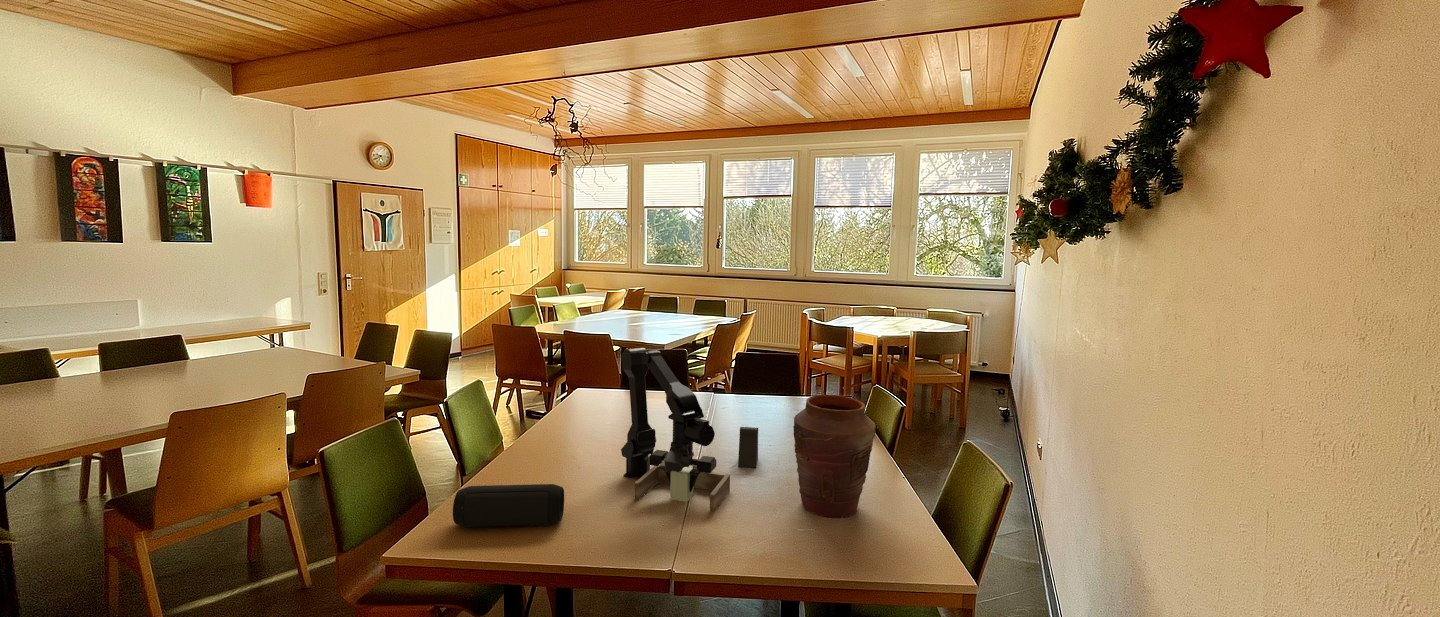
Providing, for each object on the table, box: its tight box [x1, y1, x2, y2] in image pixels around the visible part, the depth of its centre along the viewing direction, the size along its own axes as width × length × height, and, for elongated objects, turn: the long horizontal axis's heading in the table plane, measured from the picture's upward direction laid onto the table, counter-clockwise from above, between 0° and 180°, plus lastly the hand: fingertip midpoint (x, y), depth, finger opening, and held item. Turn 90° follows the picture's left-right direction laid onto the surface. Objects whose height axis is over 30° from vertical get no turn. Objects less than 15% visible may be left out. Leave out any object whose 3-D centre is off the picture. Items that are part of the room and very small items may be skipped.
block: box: [669, 466, 694, 503], centre depth 169 cm, size 5×5×8 cm
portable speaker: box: [452, 483, 565, 528], centre depth 150 cm, size 26×10×10 cm, turn 97°
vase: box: [793, 394, 876, 519], centre depth 163 cm, size 23×22×30 cm
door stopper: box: [737, 426, 759, 469], centre depth 197 cm, size 9×6×12 cm, turn 172°
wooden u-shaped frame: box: [633, 465, 731, 514], centre depth 170 cm, size 23×15×5 cm, turn 73°
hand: (681, 490), depth 169 cm, fingers closed on block, 5 cm apart
